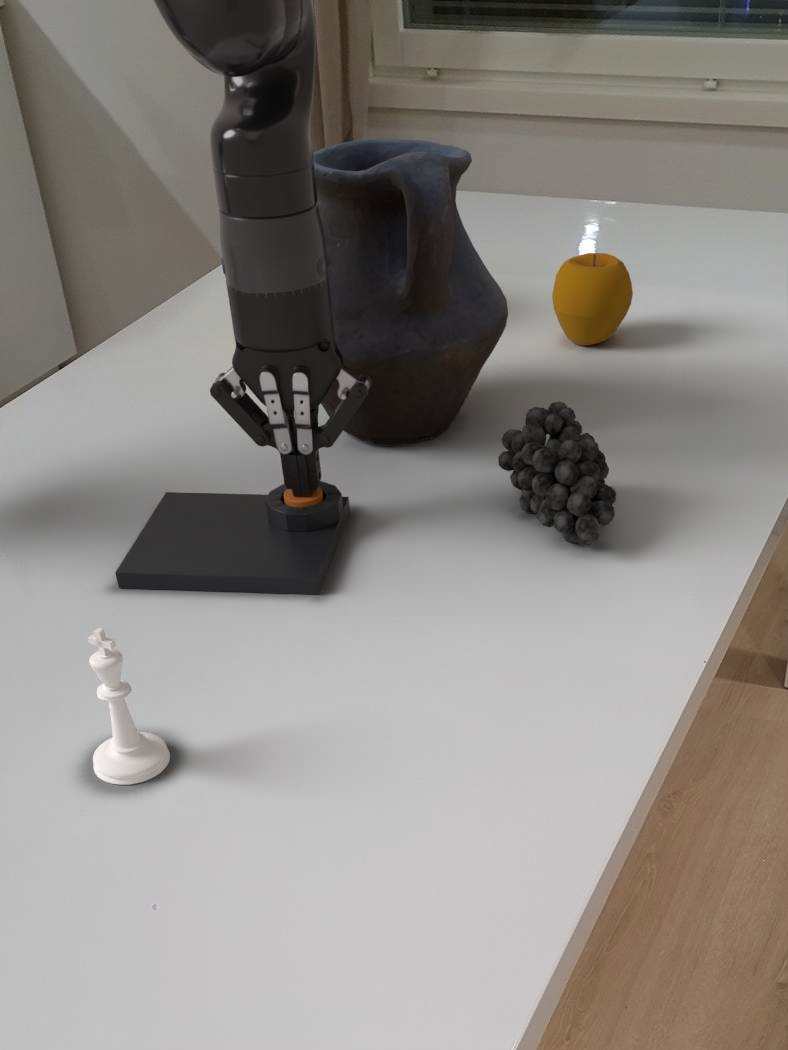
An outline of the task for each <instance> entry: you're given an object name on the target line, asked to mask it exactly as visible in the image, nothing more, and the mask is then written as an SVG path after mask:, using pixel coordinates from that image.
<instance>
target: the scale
mask: <svg viewBox="0 0 788 1050" xmlns="http://www.w3.org/2000/svg"><path fill="white" fill-rule="evenodd" d="M318 487H319V488H321V489H322V492H323V500H324V501H322V502H321V503H319V504H317V505H314V506H309V507H291V506H288V505H285V502H284V492H285V491H286V490H287V488H286V486H285V484H284V483H283V484H281V485H279V486H277V487H276V488H274V489H272V490H270V491H269V492H268V494H258V493H256V494H255V493H254V494H253V493H220V492H219V493H217V492H214V493H213V492H182V491H181V492H178V491H166V492H165V493H164V495H163V496H162V498H161V500H160V501H159V502H158V504H157V506H156V507H155V509H154V510H153V512H152V513H151V515H150V516H149V518H148V520H147V522H146V523H145V525H144V526H143V528H142V529H141V531H140V533H139V534H138V535H137V537H136V538H135V540H134V542H133V543H132V545H131V546H130V548H129V550H128V551H127V553H126V554H125V556H124V558H123V559H122V561H121V563H119V566H118V567H117V568H116V570H115V572H114V573H115V577H116V582H117V586H118V588H119V589H133V590H135V589H136V590H139V589H140V590H163V591H164V590H165V591H166V590H167V591H194V592H196V591H197V592H198V591H199V592H229V593H254V594H255V593H257V594H259V593H260V594H287V595H290V594H291V595H319V593H320V590H321V588H322V586H323V583H324V580H325V579H326V575H327V573H328V570H329V567H330V564H331V562H332V560H333V556H334V554H335V551H336V549H337V547H338V544H339V541H340V539H341V537H342V534H343V532H344V528H345V526H346V524H347V520H348V518H349V516H350V512H351V509H350V508H351V507H350V497H349V496H343V494H342V492H341V491H340V490H339V489H338V487H337V486H336V485H334V484H331V483H329V482H326V481H322V480H320V483H319V485H318Z"/></svg>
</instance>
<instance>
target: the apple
mask: <svg viewBox="0 0 788 1050" xmlns="http://www.w3.org/2000/svg"><path fill="white" fill-rule="evenodd" d="M551 294H552V295H551V298H552V299H551V300H552V305H553V310H554V314H555V316H556V319H557V321H558V323H559V325H560V328H561V329H562V331H563V334H564V335H565V336H566V338H567V339H568V340H569V341H570V342H571V343H573V344H575V345H578V346H590V345H592V346H593V345H597V344H600V343H604V342H605V341H607V340H608V339H610V338H611V337H612V335H614V333H615V332H616V331H617V329H619V326H620V325H621V324H622V322H623V321H624V319H625V318H626V315H627V314H628V312H629V310H630V307H631V305H632V300H633V294H634V291H633V284H632V279H631V276H630V273H629V271H628V269H627V267H626V265H625V263H624V262H623V261H622V260H621V259H619V258H618V257H616V256H615V255H612V254H609V253H602V252H587V253H584V254H580V255H576V256H572V257H570V258H568V259H566V260H565V261H564V262H563V263H562V264H561V266H560V267H559V269H558V271H557V272H556V274H555V279H554V284H553V289H552V293H551Z"/></svg>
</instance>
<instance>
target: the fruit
mask: <svg viewBox="0 0 788 1050" xmlns="http://www.w3.org/2000/svg"><path fill="white" fill-rule="evenodd" d="M576 419H577V415H576V412H575V410H573V408H571V407H569V406H568V405H567V404H566V403H565V402H563V401H555V402H551V403H550V405H549V406H548V408H546V407H539V406H533V407H532V408H530V409H528V410H527V412H526V414H525V424H524V425H523V427H522V430H520V429H512V428H511V429H507V431H505V432H503V433H504V434H503V435H502V437H501V444H502V446H503V448H505V450H504V451H503V450H502V452H501V453H500V454H499V456H498V457H497V460H498V466H499V467H500V468H501V469H502V470H505V471H507V472H511V474H510V476H509V478H510V482H511V484H512V486H513V487H514V488H516V489H517V490H519V491H521V495H520V497H519V500H518V502H519V505H520V509H521V510H522V511H523V512H526V513H527V514H535V515H536V518H537V519H538V521H539V523H540V524H541V526H544V527H547V528H548V527H549V528H551V527H554V529H555V530H556V531H557V532H559V533H560V534H562V537H563V539H564V541H566V542H569V543H571V544H574V543H578V544H579V545H580V546H587V547H590V546H592V545H593V544H595V543H596V542H597V541H598V540H599V537H600V533H599V532H600V528H601V526H603V527H604V526H607V525H609V524H611V523H612V522H613V520H614V518H615V516H616V513H615V507H614V506H613V505H614V504H615V503H616V501H617V491H616V490H615V489H614V487H613V486H611V485H609V484H606V481H605V480H606V479H607V477H608V476H609V472H610V468H609V466H608V465H609V464H608V463H607V461H606V459H607V457H606V455H605V454H604V452H603V451H602V450H600V448H599V443H597V442H596V439H595V438H594V435H592V434H591V433H589V432H584V433H583V425H582V424H581V422H580V421H579V420H576ZM547 435H548V436H549V437H548V438H547Z"/></svg>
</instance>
